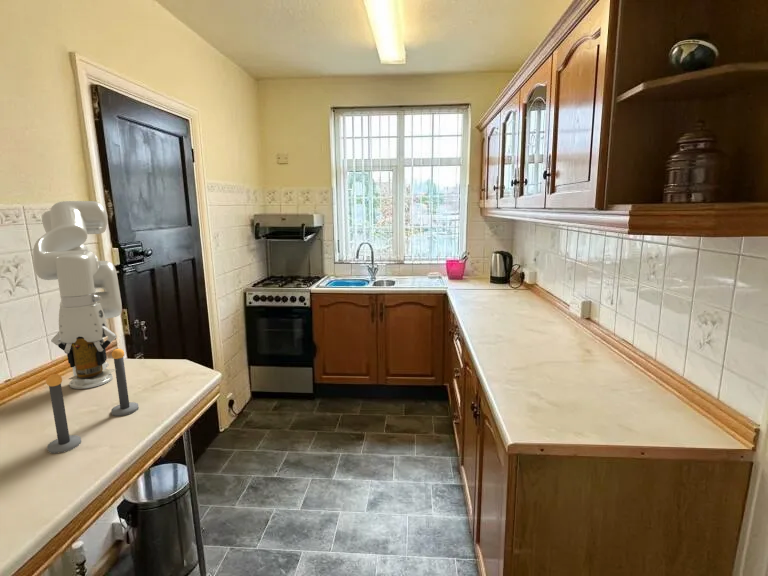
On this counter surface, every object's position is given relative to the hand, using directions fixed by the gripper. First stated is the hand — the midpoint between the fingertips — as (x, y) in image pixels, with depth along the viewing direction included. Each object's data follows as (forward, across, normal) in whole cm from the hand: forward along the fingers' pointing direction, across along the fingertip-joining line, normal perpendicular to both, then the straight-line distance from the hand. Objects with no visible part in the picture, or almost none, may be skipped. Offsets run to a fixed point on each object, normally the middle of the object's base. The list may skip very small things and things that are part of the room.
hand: (88, 364), depth 117 cm
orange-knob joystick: (+18, +4, +10) cm, 21 cm away
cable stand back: (+19, -4, -8) cm, 21 cm away
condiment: (+3, -1, 0) cm, 3 cm away
